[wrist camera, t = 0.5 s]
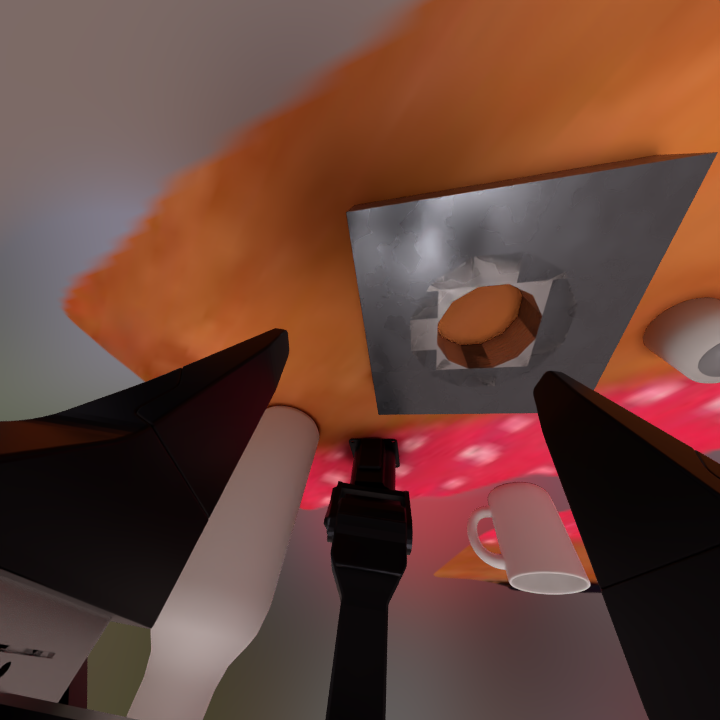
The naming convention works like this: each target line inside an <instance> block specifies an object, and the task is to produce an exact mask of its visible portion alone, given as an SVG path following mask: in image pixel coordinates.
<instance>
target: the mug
mask: <svg viewBox="0 0 720 720" xmlns="http://www.w3.org/2000/svg"><path fill="white" fill-rule="evenodd" d="M488 504H489V506H483V507H479V508H477V509H476V510H474V511H473V512H472V513H471V515H470V516H469V519H468V523H467V533H468V538H469V541H470V543H471V546H472V547H473V549H474V551H475V552H476V554H477V555H478V556H479V557H480V558H481V559H482V560H483V561H484V562H486V563H487V564H489V565H491V566H493V567H495V568H498V569H504V570H506V572H507V576H508V580H509V583H510V584H511V585H512V586H513V587H515V588H517V589H519V590H523V591H527V592H532V593H539V594H570V593H576V592H581V591H584V590H586V589H588V588H589V587H590V581H589V579H588V577H587V575H586V573H585V570H584V568H583V566H582V564H581V562H580V560H579V557H578V555H577V553H576V551H575V549H574V547H573V544H572V542H571V540H570V538H569V536H568V533H567V531H566V529H565V527H564V525H563V523H562V520H561V518H560V516H559V514H558V512H557V510H556V508H555V505H554V503H553V501H552V499H551V497H550V495H549V494H548V493H547V491H546V490H545V489H543V488H542V487H540V486H538V485H535V484H532V483H526V482H513V483H506V484H503V485H500V486H498V487H496V488H494V489H493V490H492V491H491V492H490V493H489V496H488ZM485 517H492V519H493V524H494V527H495V531H496V535H497V539H498V542H499V546H500V550H501V553H502V554H495V553H492V552H490V551H488V550H487V549H485V548H484V547H483V545H482V544H481V542H480V540H479V538H478V534H477V524H478V522H479V521H480V520H481V519H482V518H485Z"/></svg>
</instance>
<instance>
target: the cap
mask: <svg viewBox="0 0 720 720" xmlns="http://www.w3.org/2000/svg"><path fill="white" fill-rule="evenodd" d="M643 342H644V345H645V346H646V347H647V348H648V349H649V350H651V351H652V352H654V353H655V354H656V355H658V356H659V357H660V358H662V359H663V360H665V361H666V362H667V363H669V364H670V365H671V366H673V367H674V368H676V369H677V370H678V371H680V372H681V373H682V374H684V375H685V376H687V377H688V378H689V379H691V380H693V381H696V382H700V383H719V382H720V300H719V299H715V298H708V297H706V298H696V299H691V300H688V301H685V302H682V303H679V304H677V305H675V306H673V307H671V308H669V309H667V310H666V311H664V312H663V313H661V314H660V315H658V316H657V317H656V318H655V319H654V320H653V321H652V322H651V323H650V324H649V325H648V327H647V328H646V330H645V332H644V335H643Z"/></svg>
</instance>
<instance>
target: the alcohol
mask: <svg viewBox="0 0 720 720" xmlns="http://www.w3.org/2000/svg"><path fill="white" fill-rule="evenodd" d="M318 441H319V432H318V429H317V426H316V424H315V422H314V421H313V420H312V418H311V417H310V416H308V415H307V414H306V413H304V412H302V411H300V410H298V409H296V408H292V407H288V406H273V407H270V408H267V409H266V410H265V412H264V414H263V416H262V418H261V420H260V421H259V423H258V425H257V427H256V429H255V431H254V433H253V435H252V437H251V439H250V441H249V443H248V445H247V447H246V448H245V450H244V452H243V454H242V456H241V458H240V460H239V462H238V464H237V466H236V468H235V470H234V472H233V474H232V476H231V477H230V479H229V481H228V483H227V485H226V487H225V489H224V491H223V493H222V495H221V497H220V499H219V501H218V503H217V504H216V506H215V508H214V510H213V512H212V514H211V516H210V518H208V519H209V520H208V522H207V524H206V526H205V528H204V530H203V532H202V534H201V536H200V538H199V540H198V541H197V543H196V545H195V547H194V549H193V551H192V553H191V555H190V557H189V559H188V561H187V563H186V565H185V567H184V569H183V570H182V572H181V574H180V576H179V578H178V580H177V582H176V584H175V586H174V588H173V590H172V592H171V594H170V596H169V597H168V599H167V601H166V603H165V605H164V607H163V609H162V611H161V613H160V615H159V617H158V619H157V620H156V622H155V624H154V626H153V627H152V628H151V654H150V658H149V662H148V665H147V668H146V672H145V676H144V678H143V681H142V683H141V685H140V687H139V690H138V692H137V694H136V696H135V699H134V701H133V703H132V705H131V708H130V710H129V712H128V715H127V717H128V718H132V719H137V720H203V717H204V715H205V712H206V710H207V708H208V705H209V703H210V700H211V698H212V695H213V693H214V690H215V688H216V687H217V685H218V683H219V681H220V680H221V678H222V676H223V674H224V673H225V671H226V669H227V667H228V666H229V665H230V663H232V662H233V661H234V660H235V658H236V657H237V656H238V655H239V654H240V653H241V652H242V651H243V650H244V649H245V648H246V647H247V646H248V645H249V643H250V642H251V641H252V640H253V638H254V637H255V636H256V635H257V633H258V631H259V629H260V627H261V625H262V623H263V621H264V619H265V617H266V615H267V612H268V610H269V608H270V606H271V603H272V599H273V596H274V592H275V589H276V585H277V582H278V578H279V575H280V572H281V568H282V565H283V561H284V558H285V555H286V551H287V548H288V544H289V541H290V537H291V534H292V531H293V527H294V524H295V520H296V517H297V513H298V510H299V507H300V503H301V500H302V496H303V493H304V489H305V486H306V483H307V479H308V476H309V472H310V469H311V465H312V462H313V459H314V455H315V452H316V448H317V445H318Z"/></svg>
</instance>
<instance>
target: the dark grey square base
mask: <svg viewBox="0 0 720 720" xmlns="http://www.w3.org/2000/svg"><path fill="white" fill-rule="evenodd" d="M717 153H718V152H713V153H691V154H670V155H655V156H649V157H643V158H637V159H631V160H625V161H619V162H613V163H607V164H601V165H595V166H589V167H583V168H577V169H571V170H565V171H559V172H553V173H546V174H540V175H534V176H528V177H522V178H516V179H510V180H504V181H498V182H492V183H486V184H480V185H474V186H468V187H462V188H456V189H450V190H444V191H438V192H432V193H426V194H420V195H414V196H408V197H402V198H396V199H389V200H383V201H377V202H371V203H365V204H359V205H354V206H353V207H352V208H351V209H349V210H348V211H347V212H346V214H347V221H348V227H349V233H350V239H351V246H352V252H353V258H354V264H355V271H356V277H357V283H358V289H359V296H360V302H361V308H362V314H363V321H364V327H365V333H366V339H367V346H368V352H369V358H370V364H371V371H372V377H373V383H374V389H375V396H376V402H377V408H378V414H379V415H389V414H486V413H538V412H537V408H536V404H535V400H534V396H533V390H534V387H535V386H536V384H537V383H538V381H539V380H540V379H541V377H542V376H543V374H544V373H545V372H546V371H549V370H552V371H559V372H562V373H564V374H566V375H568V376H570V377H571V378H573V379H575V380H576V381H578V382H580V383H582V384H583V385H585V386H587V387H588V388H590V389H592V390H594V389H595V387H596V385H597V383H598V381H599V379H600V377H601V375H602V373H603V371H604V369H605V368H606V366H607V364H608V362H609V360H610V358H611V356H612V354H613V352H614V350H615V348H616V346H617V345H618V343H619V341H620V339H621V337H622V335H623V333H624V331H625V329H626V327H627V325H628V323H629V321H630V320H631V318H632V316H633V314H634V312H635V310H636V308H637V306H638V304H639V302H640V300H641V298H642V297H643V295H644V293H645V291H646V289H647V287H648V285H649V283H650V281H651V279H652V277H653V275H654V274H655V272H656V270H657V268H658V266H659V264H660V262H661V260H662V258H663V256H664V254H665V252H666V250H667V249H668V247H669V245H670V243H671V241H672V239H673V237H674V235H675V233H676V231H677V229H678V227H679V226H680V224H681V222H682V220H683V218H684V216H685V214H686V212H687V210H688V208H689V206H690V204H691V203H692V201H693V199H694V197H695V195H696V193H697V191H698V189H699V187H700V185H701V183H702V181H703V179H704V178H705V176H706V174H707V172H708V170H709V168H710V166H711V164H712V162H713V160H714V158H715V156H716V155H717ZM503 284H510V285H512V286H515V287H517V288H519V289H520V291H521V293H522V295H523V297H522V302H521V306H520V310H519V315H518V317H517V318H516V320H515V321H514V322H513V323H512V324H511V325H510V326H509V327H508V329H507V330H506V331H505V332H504V333H503V334H502V335H500V336H498V337H495V338H493V339H491V340H489V341H487V342H485V343H483V344H474V345H458V344H456V343H454V342H451V341H449V340H446V339H444V338H442V336H441V335H440V334H439V332H438V331H437V327H438V322H439V321H440V319H441V318H442V316H443V315H444V313H445V312H446V310H447V309H448V308H449V306H450V305H451V303H452V302H453V301H455V300H457V299H458V298H460V297H462V296H464V295H465V294H467V293H469V292H470V291H472V290H474V289H476V288H477V287H482V286H493V285H503Z"/></svg>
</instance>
